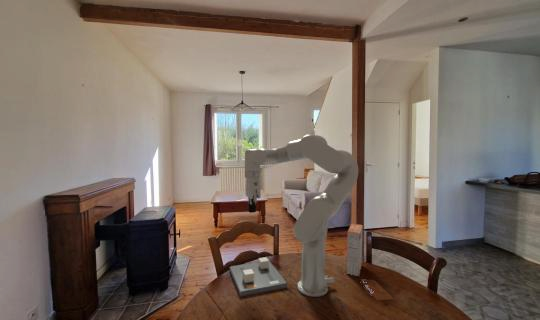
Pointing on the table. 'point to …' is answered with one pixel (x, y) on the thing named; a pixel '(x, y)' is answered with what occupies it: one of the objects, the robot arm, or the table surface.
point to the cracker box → (354, 249)
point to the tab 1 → (248, 275)
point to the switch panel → (257, 279)
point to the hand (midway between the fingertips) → (252, 211)
